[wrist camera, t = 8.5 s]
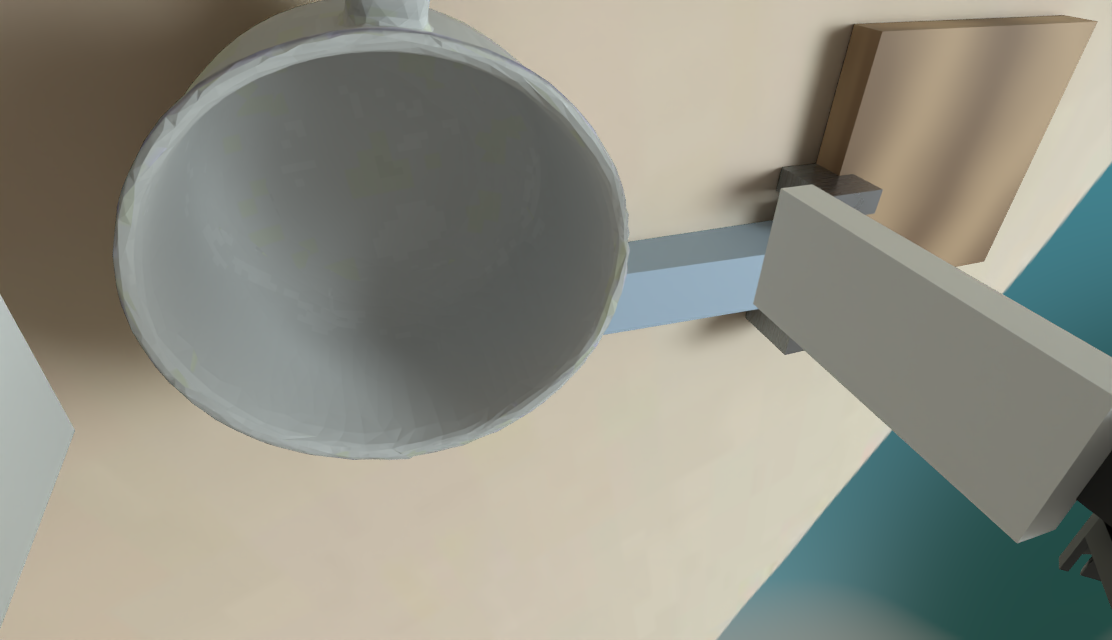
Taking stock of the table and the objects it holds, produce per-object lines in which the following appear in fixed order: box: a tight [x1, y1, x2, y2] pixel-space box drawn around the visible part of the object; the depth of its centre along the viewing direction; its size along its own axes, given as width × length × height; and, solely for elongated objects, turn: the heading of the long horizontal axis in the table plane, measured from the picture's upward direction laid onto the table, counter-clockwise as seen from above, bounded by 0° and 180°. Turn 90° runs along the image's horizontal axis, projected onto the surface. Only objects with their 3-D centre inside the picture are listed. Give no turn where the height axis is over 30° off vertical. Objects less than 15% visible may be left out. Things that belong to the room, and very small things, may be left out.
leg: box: [603, 220, 773, 335], centre depth 26 cm, size 12×5×3 cm, turn 88°
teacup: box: [113, 0, 630, 460], centre depth 16 cm, size 14×11×8 cm
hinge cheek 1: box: [746, 309, 804, 355], centre depth 29 cm, size 2×1×3 cm, turn 88°
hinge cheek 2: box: [776, 163, 883, 215], centre depth 25 cm, size 2×1×3 cm, turn 88°
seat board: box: [816, 15, 1098, 267], centre depth 27 cm, size 11×11×1 cm
